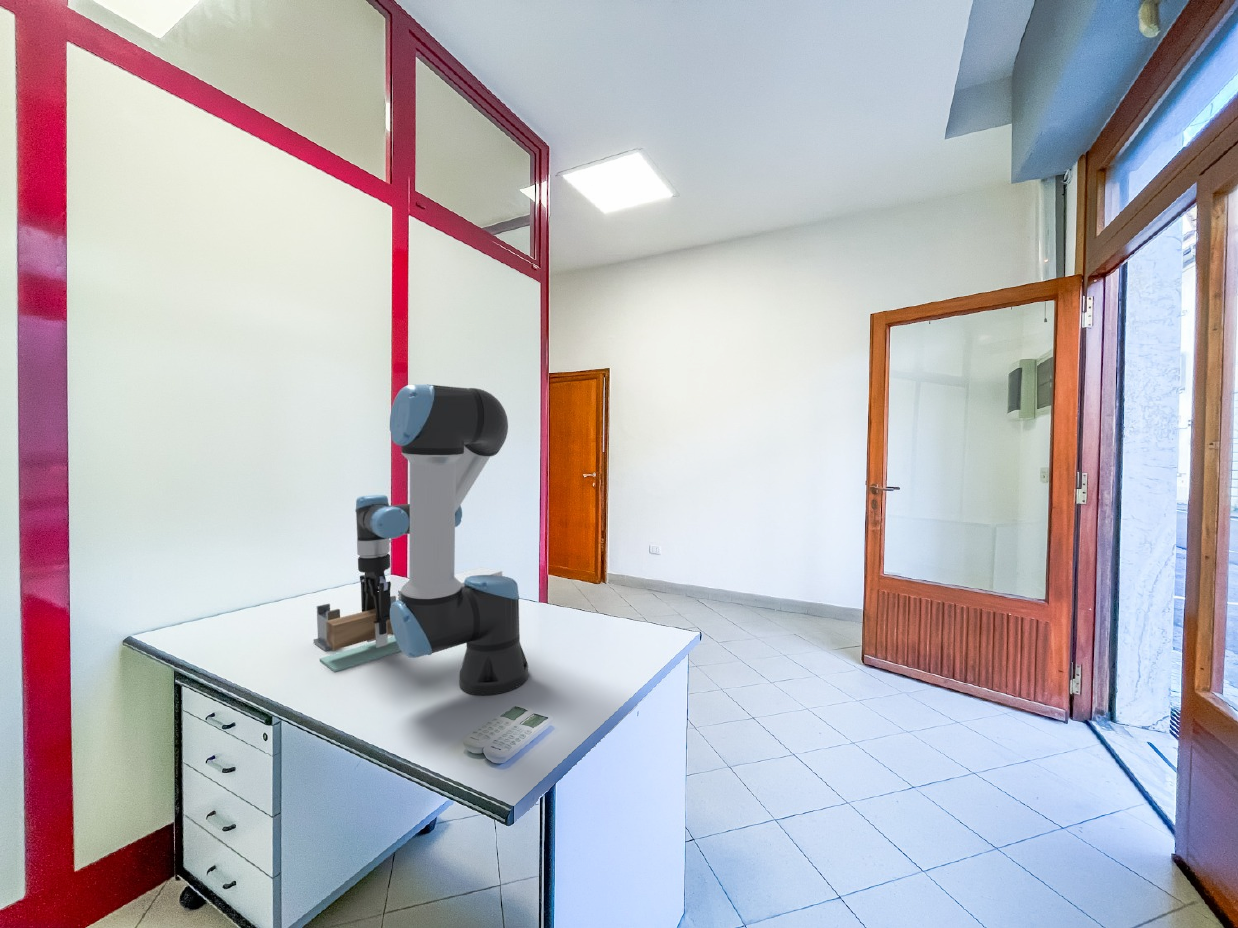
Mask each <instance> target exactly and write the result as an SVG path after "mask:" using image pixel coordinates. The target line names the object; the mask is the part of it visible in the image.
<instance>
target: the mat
mask: <svg viewBox="0 0 1238 928" xmlns="http://www.w3.org/2000/svg"><path fill="white" fill-rule="evenodd" d="M398 652H402V651H401V649H400V648H399V646H398V644H397V642H396V639H395V637H394V636H390V637H388V645H385V646H382V647H378V648H376V641H373V642H371V643H370V642H369V643H368V644H364V645H360V646H358V647H355V648H351V649H350V648H349V649H347V650H343V651H340V652H337V653H334V654H330V655H327V656H324V657H320V658H319V662H320V663H322V664H323V665H325V667H327V668H328V669H330V671H332V672H333V673H336V672H339V671H342V670H346V669H348V668H352V667H355V666H357V665H361V664H364V663H367V662H370V661H374V660H376V659H380V658H383V657H385V656H388V655H392V654H396V653H398Z"/></svg>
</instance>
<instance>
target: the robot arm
mask: <svg viewBox="0 0 1238 928" xmlns="http://www.w3.org/2000/svg"><path fill="white" fill-rule="evenodd" d="M389 431H390V437H391V438H390V439H391V440H392V442H393V443H394V444H395V445H397V446H399V447H401V449H400V453H401V456H403V457H404V458H405V459H406V460H407V461H408V462H409V503H405V504H395V505H394V504H393V505H390V504H389V498H388V496H387V495H385V494H371V495H370V494H369V495H361V496H358V497H357V499H356V500H355V501H356V502H355V516H356V517H355V518H356V519H355V520H356V536H357V537H356V538H357V539H356V549H357V550H356V551H357V555H358V557H357V568H358V569H357V570H358V572H360V573H363V574H362V575H359V583H360V595H361V596H360V598H361V599H360V600H361V603H360V604H361V605H360V606H361V612H365V611H369V610H373V609H375V612H376V619H377V621H374V623H375V638H374V639H371V640H368V641H366V642H367V643H370V642H371V643H372V642H376V648H378V647H382V646H385V645H388V638H389V636H388V635H387V620H390V621H391V626H392V630H393V633H392V634H393V637H395V639H396V642H397V644H398V646H399V648H400V649H401V651H400V652H402V654H404V655H405V656H406V657H408V658H412V659H414V658H415V659H416V658H420V657H423V656H427V655H428V656H431V655H433V654H434V653H438V652H440V651H445V650H447V649H452V648H454V647H457V646H461V645H464V644H466V649H465V653H464V656H463V660H462V663H461V667H460V670H459V675H458V680H459V683H458V685H459V687H460V689H461V690H462V691H464V692H465V693H468V694H472V695H478V696H490V695H491V696H492V695H498V694H503V693H506V692H510V691H512V690H515V689H517V688H519V687H520V686H522V685H523V684H525V682H526V681H527V680H528V679H529V664H528V661H527V658H526V655H525V653H524V650H523V648H522V644H521V641H520V639H521V638H520V636H521V635H520V634H521V633H520V602H519V601H520V593H519V586H518V583H517V581H516V580H515V579H513V578H511V577H509V576H504V575H502V576H498V575H475V576H470V577H467V578H466V579H465V581H464V585H465V586H464V587H462V584H461V582H460V581H459V580H457V579H456V578H455V577H454V575H455V566H456V565H455V564H456V562H455V559H456V558H455V557H456V556H455V552H456V550H455V549H456V548H455V547H456V543H455V542H456V528H457V527H458V526H460V524H461V523H462V518H463V511H462V510H463V509H462V503H463V501H464V499H466V497H467V495H468V493H469V491H470V490H471V489H472V487H473V485H475V482H476V480H477V478H478V477H479V476H480V474H481V472H482V471H483V470H484V467H485V466H486V465H487V462H489V459H490V458H491V457H494V456H496V455H498V454H499V453H500V451H501V448H502V447H503V446H504V444H505V442H506V439H507V437H508V436H507V435H508V432H509V421H508V416H507V413H506V410H505V408H504V406H503V405H502V403H501V402H500V401H499V399H498V398H496V397H495V396H494V395H493V394H492V393H491V392H488V391H486V390H484V389H480V388H475V387H456V386H448V385H447V386H446V385H436V384H427V383H426V384H408V385H406V386H404V387H402V388H401V389H399V391H398V392H397V395H396V396H395V397H394V401H393V403H392V406H391V410H390V417H389ZM404 535H409V575H408V576H409V578H408V579H409V580H408V581H406V583H404V584H403V586H401V589H400V590H401V600H398V599H396V601H395V602H393V603H392V605H391V598H390V597H391V587H392V583H391V581H387V578H386V575H385V571H387V570H389V569H390V568H391V554H390V551H391V549H390V543H392V542H391V540H392V539H397V538H400V537H402V536H404Z"/></svg>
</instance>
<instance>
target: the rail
mask: <svg viewBox="0 0 1238 928" xmlns="http://www.w3.org/2000/svg"><path fill="white" fill-rule="evenodd" d="M374 621H377V619H376V612H375V609H373V610H369V611H365V612H362V611H361V612H357V613H352V614H348V615H345V616H342V617H341V616H340V618H336V619H332V620H328V621H326V633H327V645H328V646H329V647H331V648H332V650H333V651H336V650H341V649H344V648H347V647H349V646H354V645H357V644H360V643H364V642H367V641H368V640H371V639H374V638H375V623H374ZM392 634H393V630H392V626H391V621H390V620H387V636H388V635H392Z"/></svg>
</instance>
